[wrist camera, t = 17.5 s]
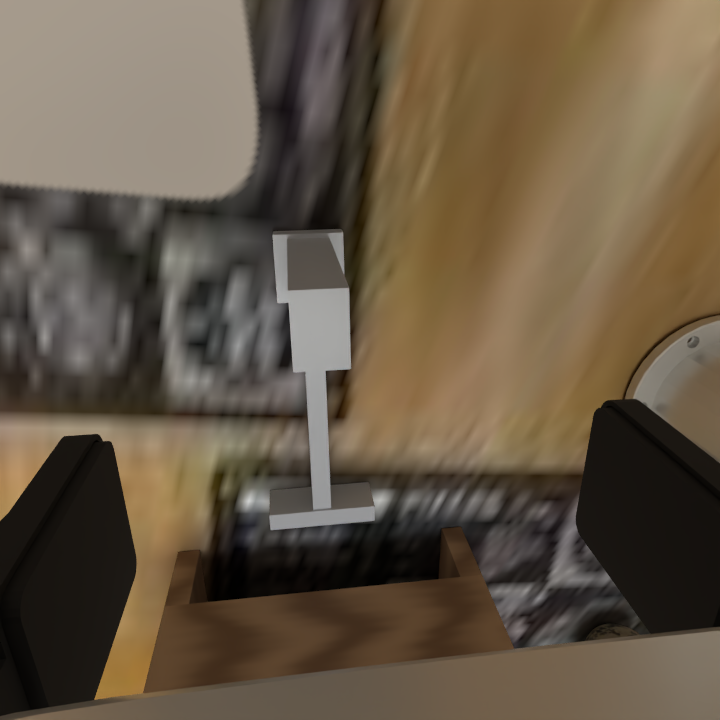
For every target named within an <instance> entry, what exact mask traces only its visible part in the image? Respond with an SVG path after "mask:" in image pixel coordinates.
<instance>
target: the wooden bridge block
mask: <svg viewBox="0 0 720 720" xmlns="http://www.w3.org/2000/svg"><path fill="white" fill-rule="evenodd" d="M510 649H514V647H513V645H512V643H511V640H510V638H509V636H508V634H507V631H506V629H505V627H504V624H503V622H502V620H501V618H500V615H499V613H498V611H497V608H496V606H495V604H494V602H493V599H492V597H491V595H490V592H489V590H488V588H487V586H486V583H485V581H484V579H483V576H482V574H481V572H480V570H479V567H478V565H477V563H476V560H475V558H474V556H473V554H472V551H471V549H470V547H469V544H468V542H467V540H466V537H465V535H464V533H463V531H462V528H461V527H453V528H442V531H441V547H440V564H439V579H435V580H425V581H415V582H405V583H395V584H385V585H375V586H365V587H355V588H345V589H335V590H324V591H314V592H304V593H294V594H284V595H274V596H264V597H254V598H244V599H234V600H224V601H214V602H207V596H206V589H205V582H204V576H203V569H202V562H201V556H200V550H195V551H184V552H178V556H177V560H176V564H175V568H174V572H173V576H172V580H171V584H170V588H169V592H168V596H167V600H166V604H165V608H164V612H163V616H162V620H161V624H160V628H159V632H158V636H157V640H156V644H155V648H154V652H153V656H152V660H151V664H150V668H149V672H148V676H147V680H146V684H145V688H144V692H143V693H150V692H158V691H166V690H174V689H182V688H190V687H198V686H206V685H215V684H223V683H231V682H239V681H248V680H256V679H264V678H272V677H281V676H289V675H297V674H305V673H314V672H322V671H330V670H338V669H347V668H355V667H363V666H372V665H380V664H389V663H398V662H406V661H415V660H423V659H432V658H441V657H449V656H458V655H467V654H475V653H484V652H493V651H502V650H510Z"/></svg>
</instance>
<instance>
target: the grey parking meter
mask: <svg viewBox="0 0 720 720" xmlns="http://www.w3.org/2000/svg"><path fill="white" fill-rule="evenodd" d="M272 236H273V250H274V263H275V277H276V290H277V303H289V316H290V331H291V347H292V362H293V373H295V372H305V377H306V395H307V412H308V430H309V447H310V465H311V483H312V487H302V488H290V489H279V490H270V512H269V517H270V528H271V530H278V529H289V528H300V527H311V526H322V525H333V524H343V523H354V522H365V521H375V513H374V502H373V498H372V494H371V489H370V485H369V482H362V483H350V484H338V485H330V467H329V443H328V419H327V394H326V371H327V370H343V369H351V353H350V308H349V286H348V284H347V281H346V279H345V276H344V246H343V231H342V229H324V230H296V231H273V234H272Z"/></svg>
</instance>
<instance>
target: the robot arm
mask: <svg viewBox="0 0 720 720" xmlns="http://www.w3.org/2000/svg"><path fill="white" fill-rule="evenodd" d="M576 525H577V529H578V532H579V534H580V536H581V537H582V539H583V540H584V542H585V543H586V544H587V546H588V547H589V549H590V550H591V551H592V553H593V554H594V555H595V557H596V558H597V560H598V561H599V562H600V564H601V565H602V567H603V568H604V569H605V571H606V572H607V574H608V575H609V576H610V578H611V579H612V581H613V582H614V583H615V585H616V586H617V587H618V589H619V590H620V592H621V593H622V594H623V596H624V597H625V599H626V600H627V601H628V603H629V604H630V606H631V607H632V608H633V610H634V611H635V613H636V614H637V615H638V617H639V618H640V620H641V621H642V622H643V624H644V625H645V626H646V628H647V629H648V631H649V632H650V633H651V634H646V635H637V636H628V637H619V638H609V639H600V640H591V641H582V642H573V643H563V644H554V645H545V646H537V647H528V648H519V649H510V650H502V651H493V652H484V653H475V654H467V655H458V656H449V657H441V658H432V659H423V660H415V661H406V662H398V663H389V664H380V665H372V666H363V667H355V668H347V669H338V670H330V671H322V672H314V673H305V674H297V675H289V676H281V677H272V678H264V679H256V680H248V681H239V682H231V683H223V684H215V685H206V686H198V687H190V688H182V689H174V690H166V691H158V692H150V693H142V694H134V695H126V696H119V697H111V698H105V699H98V700H94V698H95V695H96V692H97V689H98V686H99V683H100V680H101V677H102V674H103V671H104V668H105V665H106V662H107V659H108V656H109V653H110V650H111V647H112V644H113V641H114V638H115V635H116V632H117V629H118V626H119V623H120V620H121V617H122V614H123V611H124V608H125V605H126V602H127V599H128V596H129V593H130V590H131V587H132V584H133V581H134V578H135V574H136V554H135V549H134V544H133V539H132V534H131V530H130V525H129V520H128V515H127V510H126V505H125V501H124V496H123V491H122V486H121V481H120V476H119V472H118V467H117V462H116V457H115V452H114V448H113V445H112V443H111V442H110V441H104V442H103V441H102V438H101V437H100V436H99V435H98V434H92V435H76V436H64V437H63V438H62V439H61V440H60V442H59V443H58V444H57V446H56V447H55V449H54V450H53V451H52V453H51V454H50V456H49V457H48V458H47V460H46V461H45V463H44V464H43V465H42V467H41V468H40V470H39V471H38V472H37V474H36V475H35V477H34V478H33V479H32V481H31V482H30V484H29V485H28V486H27V488H26V489H25V491H24V492H23V493H22V495H21V496H20V498H19V499H18V500H17V502H16V503H15V505H14V506H13V507H12V509H11V510H10V512H9V513H8V514H7V515H6V516H5V517H4V518H3V519H2V520H1V521H0V720H720V315H717V316H713V317H709V318H705V319H701V320H699V321H696V322H694V323H692V324H689V325H687V326H685V327H683V328H681V329H680V330H678V331H677V332H675V333H673V334H672V335H670V336H669V337H667V338H666V339H665V340H664V341H663V342H661V343H660V344H659V345H658V346H657V347H656V348H655V349H654V350H653V351H652V352H651V353H650V354H649V355H648V356H647V358H646V359H645V360H644V361H643V362H642V364H641V365H640V367H639V368H638V370H637V372H636V373H635V375H634V376H633V378H632V381H631V383H630V385H629V387H628V390H627V392H626V397H625V399H623V400H608V401H606V402H604V403H603V405H602V407H601V408H598V409H597V410H596V411H595V413H594V416H593V422H592V427H591V433H590V439H589V444H588V450H587V456H586V462H585V467H584V473H583V479H582V485H581V490H580V496H579V502H578V507H577V513H576Z"/></svg>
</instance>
